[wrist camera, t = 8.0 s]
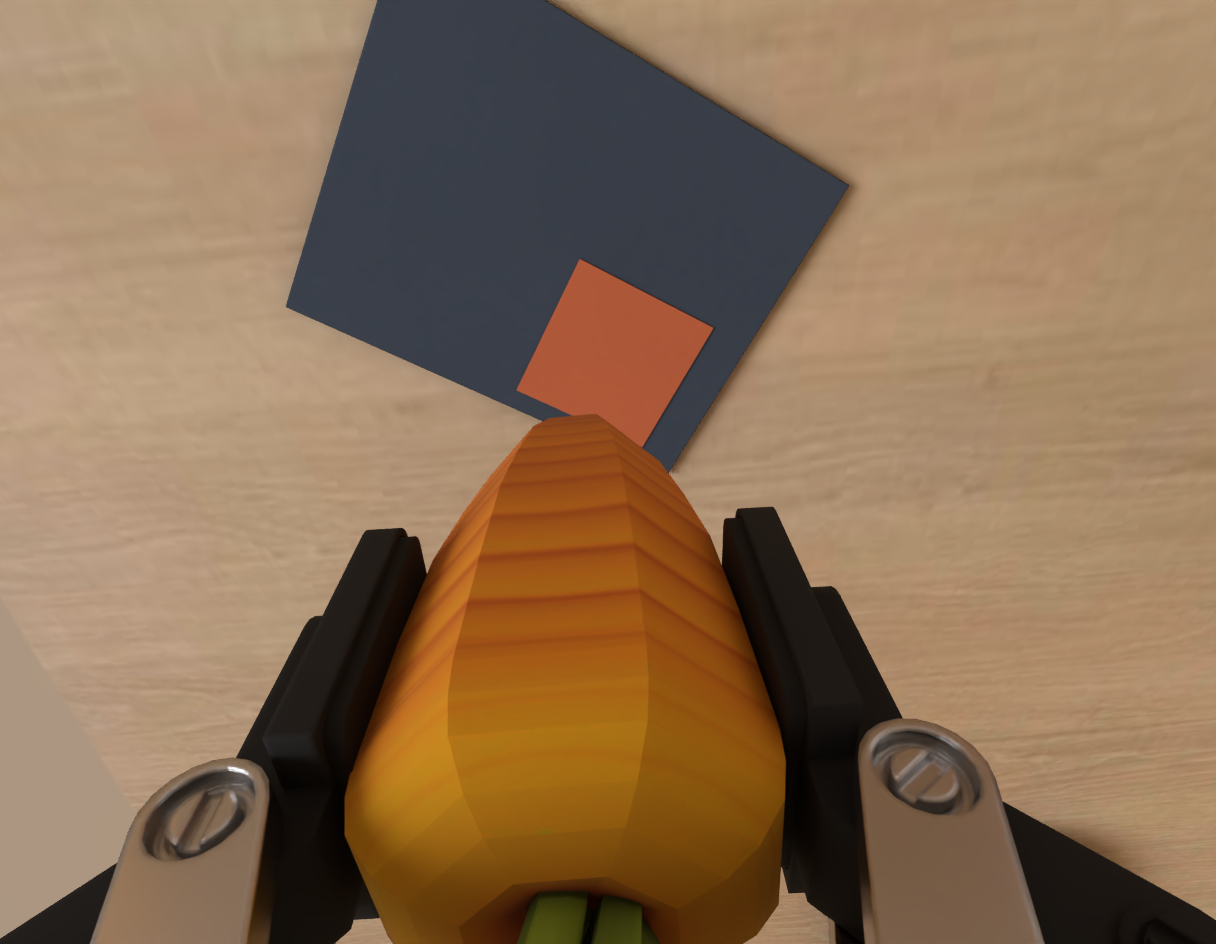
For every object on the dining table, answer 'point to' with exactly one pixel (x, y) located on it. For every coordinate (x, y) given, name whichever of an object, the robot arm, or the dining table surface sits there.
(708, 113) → the mat
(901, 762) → the robot arm
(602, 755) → the carrot
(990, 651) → the dining table surface
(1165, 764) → the dining table surface
